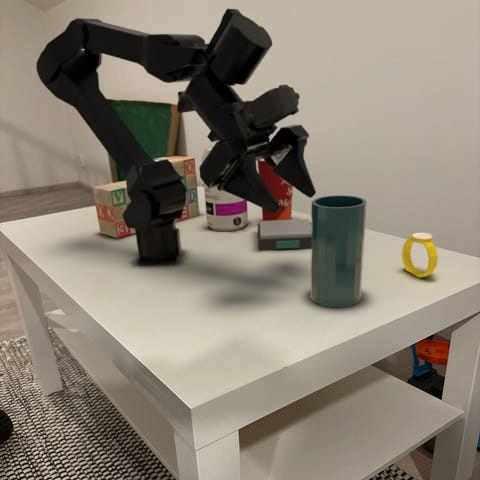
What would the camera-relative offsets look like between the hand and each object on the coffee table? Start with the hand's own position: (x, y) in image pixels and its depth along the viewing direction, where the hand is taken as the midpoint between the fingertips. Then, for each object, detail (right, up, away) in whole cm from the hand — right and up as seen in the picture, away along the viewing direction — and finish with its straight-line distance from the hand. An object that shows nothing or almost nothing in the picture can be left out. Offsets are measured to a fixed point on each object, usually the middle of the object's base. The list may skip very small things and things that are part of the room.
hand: (296, 203), depth 67 cm
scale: (+1, -1, +26) cm, 26 cm away
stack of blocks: (-26, +5, +40) cm, 48 cm away
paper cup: (0, +4, +36) cm, 37 cm away
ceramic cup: (+5, -12, +2) cm, 14 cm away
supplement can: (-10, +3, +36) cm, 37 cm away
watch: (+19, -9, +8) cm, 22 cm away
